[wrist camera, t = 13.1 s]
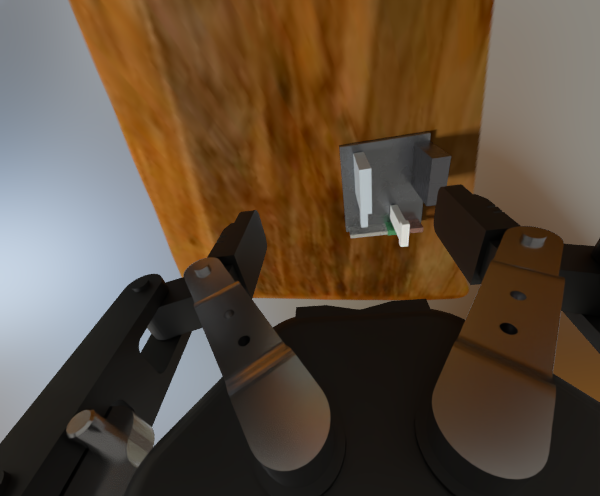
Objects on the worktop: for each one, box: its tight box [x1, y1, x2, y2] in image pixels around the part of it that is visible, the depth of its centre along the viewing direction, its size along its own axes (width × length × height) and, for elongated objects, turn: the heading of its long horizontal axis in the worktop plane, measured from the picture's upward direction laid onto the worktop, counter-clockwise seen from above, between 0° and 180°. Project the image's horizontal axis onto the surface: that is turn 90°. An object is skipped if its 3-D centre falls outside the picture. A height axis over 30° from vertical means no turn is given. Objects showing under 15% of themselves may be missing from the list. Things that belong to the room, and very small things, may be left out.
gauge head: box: [353, 152, 372, 228], centre depth 36 cm, size 1×10×7 cm, turn 10°
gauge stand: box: [339, 131, 451, 238], centre depth 36 cm, size 12×14×8 cm
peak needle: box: [390, 205, 410, 247], centre depth 38 cm, size 1×4×7 cm, turn 10°
